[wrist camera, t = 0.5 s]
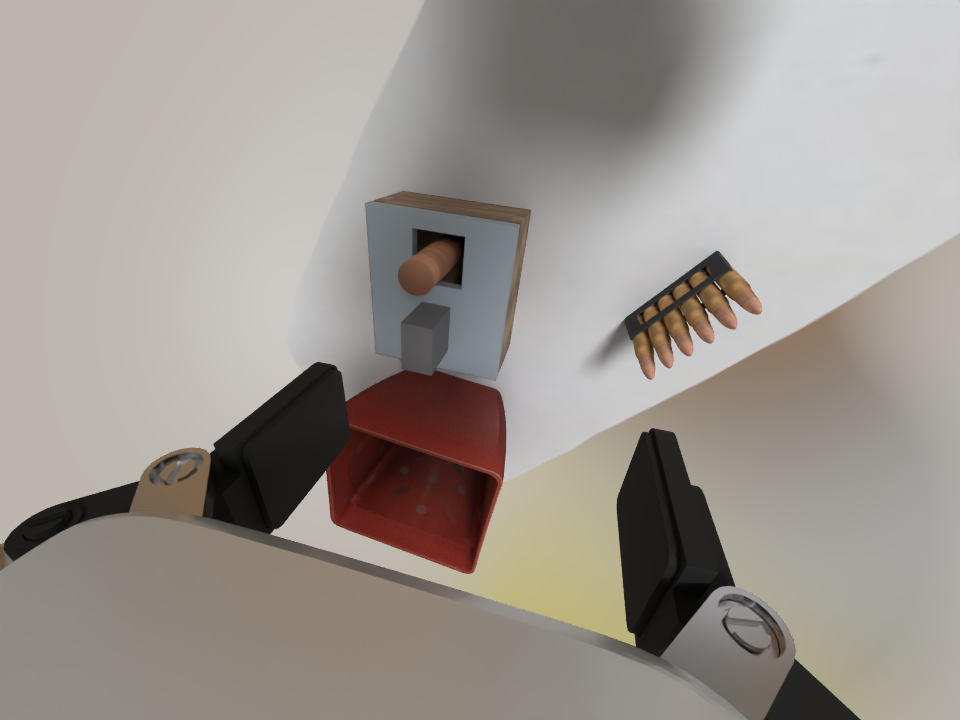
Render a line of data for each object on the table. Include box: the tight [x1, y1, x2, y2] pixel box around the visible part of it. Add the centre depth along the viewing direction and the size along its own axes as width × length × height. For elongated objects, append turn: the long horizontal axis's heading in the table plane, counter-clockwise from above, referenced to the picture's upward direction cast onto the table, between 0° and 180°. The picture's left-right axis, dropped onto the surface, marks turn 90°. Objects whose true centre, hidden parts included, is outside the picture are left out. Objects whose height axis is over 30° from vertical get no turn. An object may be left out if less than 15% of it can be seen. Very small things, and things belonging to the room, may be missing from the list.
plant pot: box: [326, 370, 506, 574], centre depth 48 cm, size 19×19×17 cm
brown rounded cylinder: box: [398, 234, 465, 296], centre depth 35 cm, size 3×3×12 cm
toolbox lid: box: [365, 201, 520, 381], centre depth 35 cm, size 16×14×6 cm
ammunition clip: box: [625, 251, 762, 380], centre depth 34 cm, size 11×2×12 cm, turn 139°
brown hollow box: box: [374, 191, 531, 373], centre depth 41 cm, size 16×14×7 cm
